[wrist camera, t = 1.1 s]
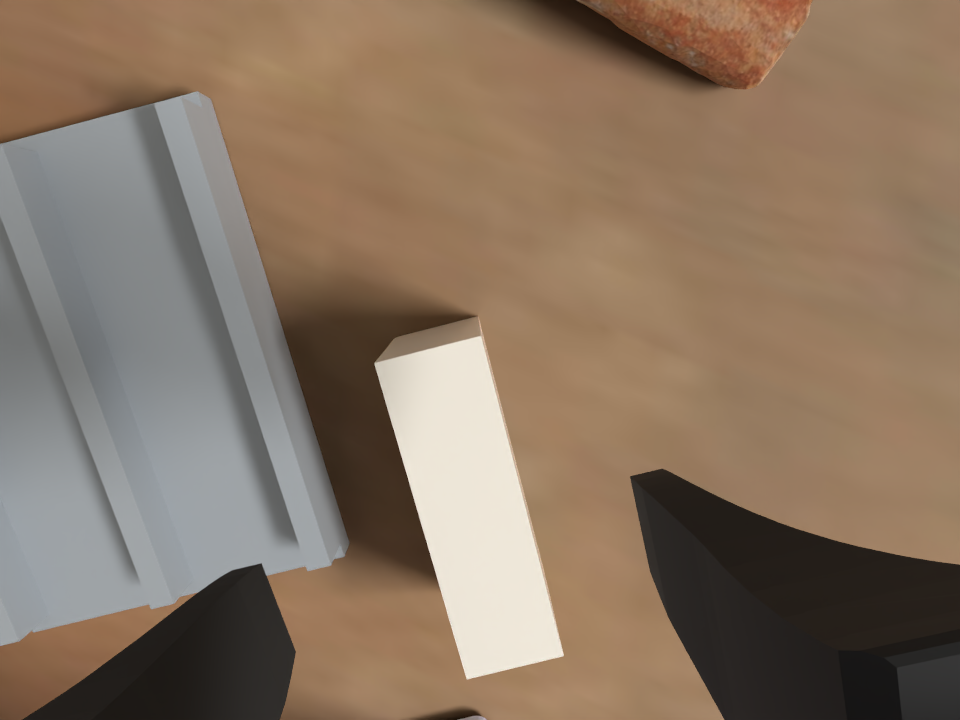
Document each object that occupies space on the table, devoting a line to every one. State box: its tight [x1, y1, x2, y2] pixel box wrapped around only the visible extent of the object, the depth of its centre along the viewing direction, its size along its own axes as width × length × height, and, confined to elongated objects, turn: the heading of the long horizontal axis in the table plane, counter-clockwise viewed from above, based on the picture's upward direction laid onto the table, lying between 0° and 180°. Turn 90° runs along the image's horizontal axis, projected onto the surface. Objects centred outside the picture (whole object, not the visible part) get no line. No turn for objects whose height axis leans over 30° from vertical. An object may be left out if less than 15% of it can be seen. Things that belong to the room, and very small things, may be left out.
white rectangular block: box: [374, 316, 564, 679], centre depth 20 cm, size 10×3×5 cm, turn 14°
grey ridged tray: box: [0, 91, 350, 646], centre depth 20 cm, size 16×12×2 cm
